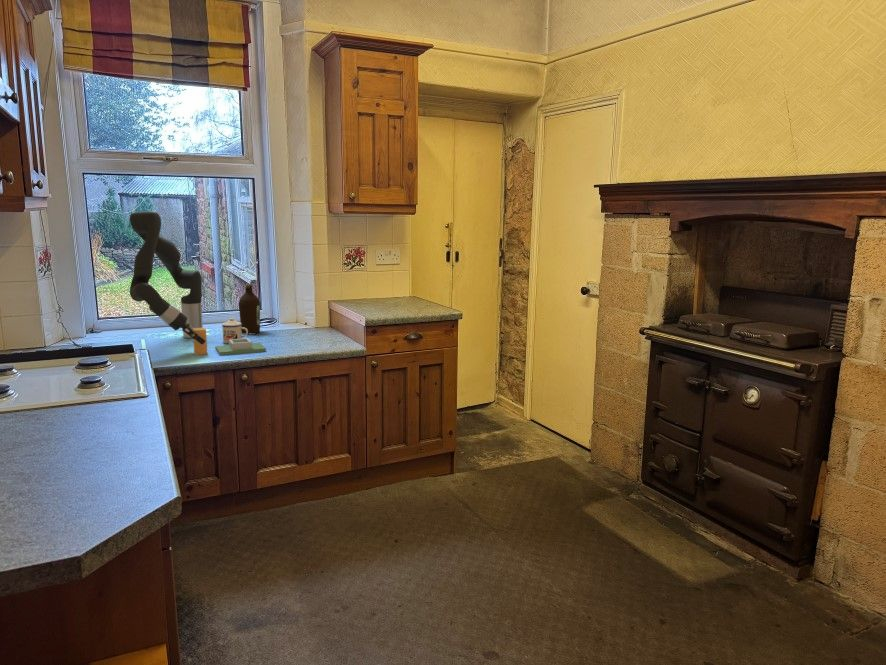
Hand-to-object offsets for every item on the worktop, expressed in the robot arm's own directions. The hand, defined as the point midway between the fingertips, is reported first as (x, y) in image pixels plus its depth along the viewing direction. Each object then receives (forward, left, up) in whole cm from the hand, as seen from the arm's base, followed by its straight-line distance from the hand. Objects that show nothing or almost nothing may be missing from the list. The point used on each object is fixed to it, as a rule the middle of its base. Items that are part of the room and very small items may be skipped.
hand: (202, 340), depth 271 cm
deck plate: (+1, +16, -5) cm, 17 cm away
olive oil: (-37, +28, -6) cm, 47 cm away
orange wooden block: (0, -1, -5) cm, 6 cm away
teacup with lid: (-17, +17, -6) cm, 25 cm away
